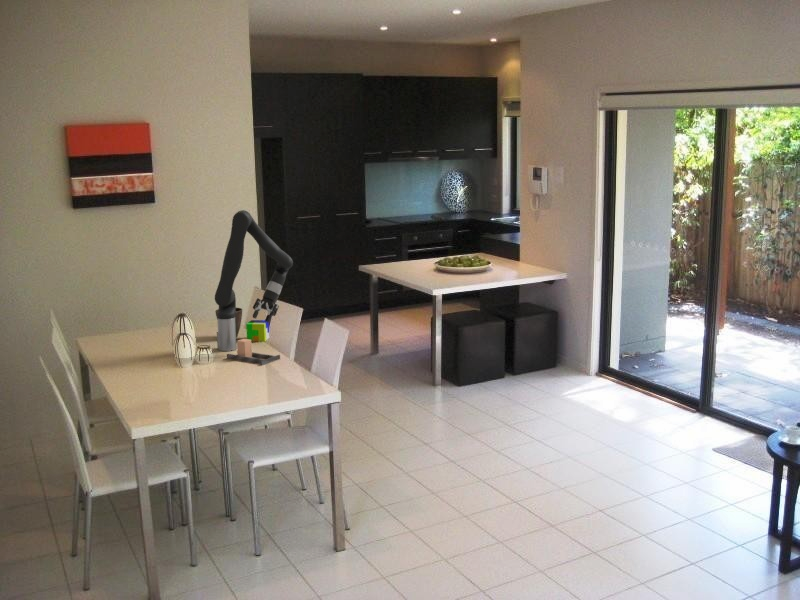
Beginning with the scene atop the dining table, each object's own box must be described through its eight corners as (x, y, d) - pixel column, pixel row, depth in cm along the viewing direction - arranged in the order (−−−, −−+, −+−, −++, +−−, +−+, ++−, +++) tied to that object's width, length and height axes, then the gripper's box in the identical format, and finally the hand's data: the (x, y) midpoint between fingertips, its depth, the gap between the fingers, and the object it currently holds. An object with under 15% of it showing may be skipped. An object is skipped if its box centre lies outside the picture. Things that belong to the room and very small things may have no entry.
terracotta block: (237, 358, 423) (237, 340, 421) (244, 355, 427) (243, 338, 425) (245, 359, 420) (244, 341, 419) (252, 357, 424) (251, 339, 423)
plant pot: (213, 340, 468) (211, 312, 465) (222, 334, 482) (220, 307, 479) (238, 341, 466) (237, 312, 463) (247, 334, 480) (245, 307, 477)
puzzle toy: (269, 337, 473) (268, 320, 471) (264, 341, 463) (264, 324, 462) (252, 337, 474) (251, 320, 472) (247, 341, 464) (246, 324, 463)
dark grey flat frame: (223, 362, 422) (223, 355, 421) (242, 355, 434) (241, 349, 433) (262, 368, 409) (262, 361, 409) (280, 361, 421) (280, 355, 421)
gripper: (258, 286, 437) (245, 314, 434) (278, 292, 429) (266, 321, 426) (266, 291, 443) (254, 319, 440) (286, 297, 436) (274, 325, 433)
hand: (260, 320), depth 433 cm, fingers open, 8 cm apart
